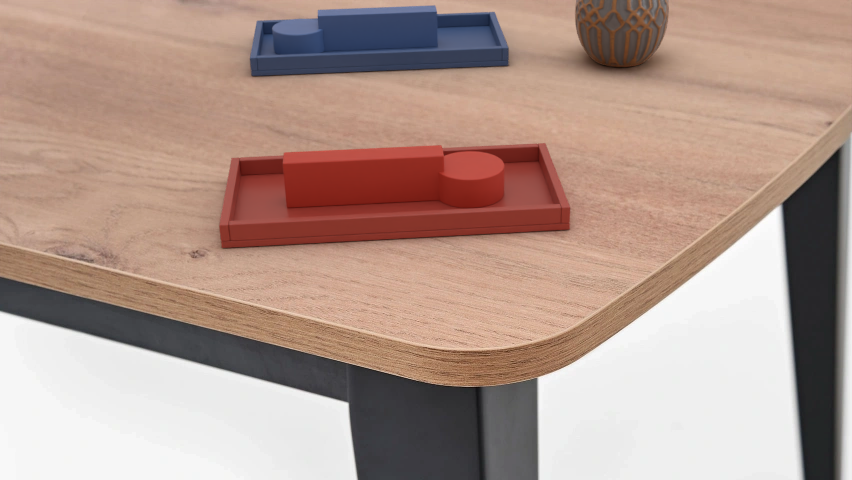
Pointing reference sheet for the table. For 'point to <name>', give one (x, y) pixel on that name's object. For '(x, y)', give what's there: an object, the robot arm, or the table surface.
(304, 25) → the blue disc-ended bar
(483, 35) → the blue tray
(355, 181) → the red disc-ended bar
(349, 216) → the red tray
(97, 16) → the table surface
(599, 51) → the vase
